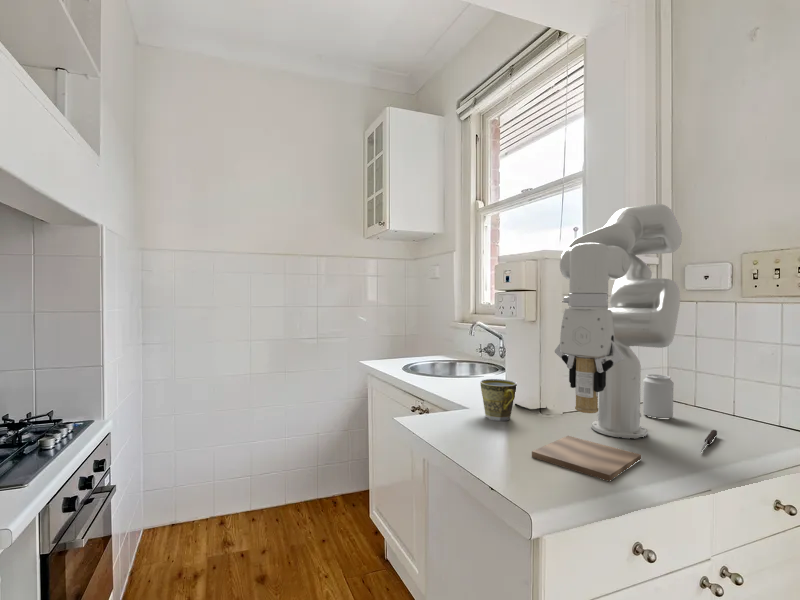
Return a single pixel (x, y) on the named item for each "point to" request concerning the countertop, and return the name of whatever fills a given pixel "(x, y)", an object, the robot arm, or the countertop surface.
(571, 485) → the countertop surface
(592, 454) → the walnut board
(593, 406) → the sprinkles bottle
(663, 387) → the can
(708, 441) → the kitchen knife
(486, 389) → the ceramic cup
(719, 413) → the countertop surface
